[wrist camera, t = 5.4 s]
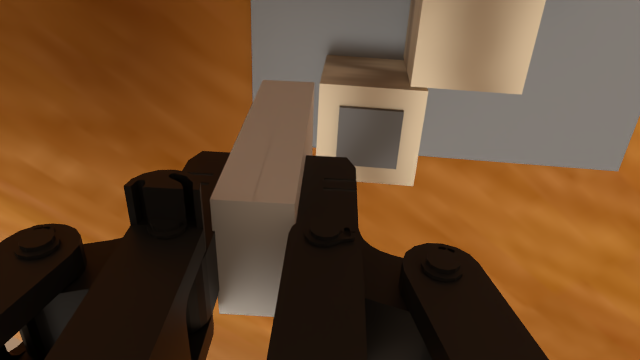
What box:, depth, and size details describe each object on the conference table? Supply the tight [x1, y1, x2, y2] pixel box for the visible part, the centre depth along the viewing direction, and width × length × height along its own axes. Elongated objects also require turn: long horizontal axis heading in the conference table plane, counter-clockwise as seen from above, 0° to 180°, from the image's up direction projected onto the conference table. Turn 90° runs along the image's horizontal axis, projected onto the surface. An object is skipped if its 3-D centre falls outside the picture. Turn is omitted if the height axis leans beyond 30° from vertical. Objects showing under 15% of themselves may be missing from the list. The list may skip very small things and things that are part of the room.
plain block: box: [404, 0, 546, 95], centre depth 28 cm, size 6×6×6 cm
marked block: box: [316, 55, 428, 186], centre depth 32 cm, size 6×6×6 cm
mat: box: [251, 0, 640, 171], centre depth 31 cm, size 26×20×1 cm
